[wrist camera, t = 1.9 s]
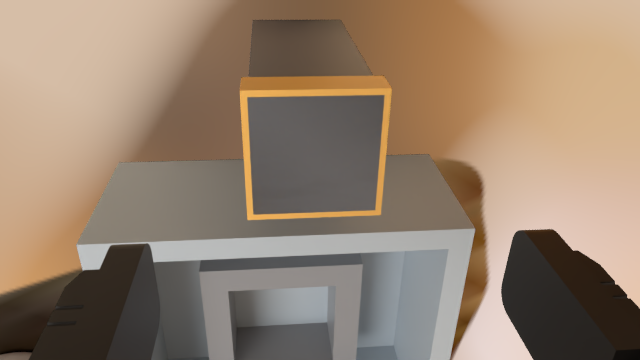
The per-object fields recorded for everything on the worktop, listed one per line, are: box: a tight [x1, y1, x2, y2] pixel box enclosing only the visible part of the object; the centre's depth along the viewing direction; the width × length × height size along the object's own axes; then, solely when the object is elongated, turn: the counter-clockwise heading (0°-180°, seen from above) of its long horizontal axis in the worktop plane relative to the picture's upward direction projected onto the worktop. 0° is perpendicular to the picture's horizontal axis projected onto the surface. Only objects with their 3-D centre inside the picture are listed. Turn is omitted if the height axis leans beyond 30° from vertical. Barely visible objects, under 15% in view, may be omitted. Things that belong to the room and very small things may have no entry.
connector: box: [240, 20, 392, 220], centre depth 21 cm, size 4×4×10 cm
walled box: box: [76, 154, 475, 360], centre depth 28 cm, size 14×16×7 cm
